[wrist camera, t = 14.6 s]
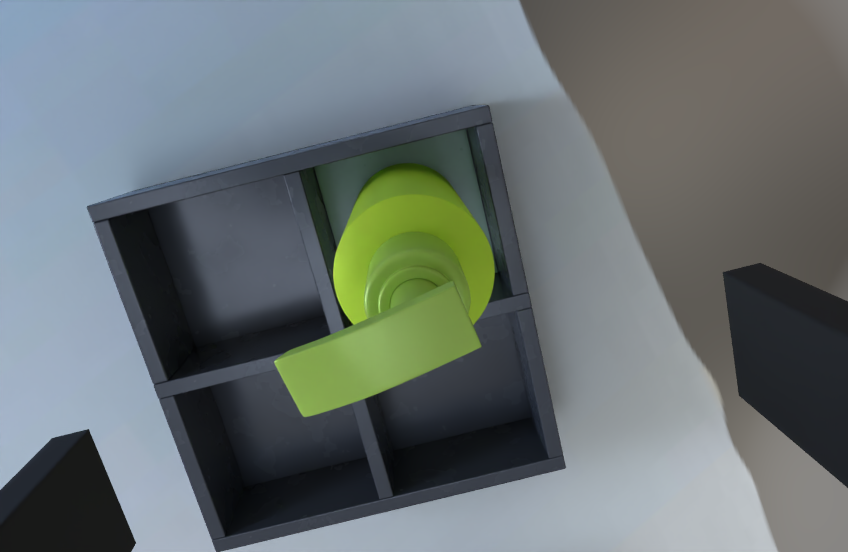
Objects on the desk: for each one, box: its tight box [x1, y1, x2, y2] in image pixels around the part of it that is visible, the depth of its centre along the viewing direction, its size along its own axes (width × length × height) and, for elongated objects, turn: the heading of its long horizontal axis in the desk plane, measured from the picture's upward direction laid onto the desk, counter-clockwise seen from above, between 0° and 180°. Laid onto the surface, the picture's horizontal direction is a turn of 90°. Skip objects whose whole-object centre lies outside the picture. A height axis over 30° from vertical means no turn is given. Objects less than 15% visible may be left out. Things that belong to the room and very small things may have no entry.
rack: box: [87, 105, 566, 552], centre depth 37 cm, size 19×19×6 cm
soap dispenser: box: [274, 163, 495, 417], centre depth 27 cm, size 6×7×20 cm
